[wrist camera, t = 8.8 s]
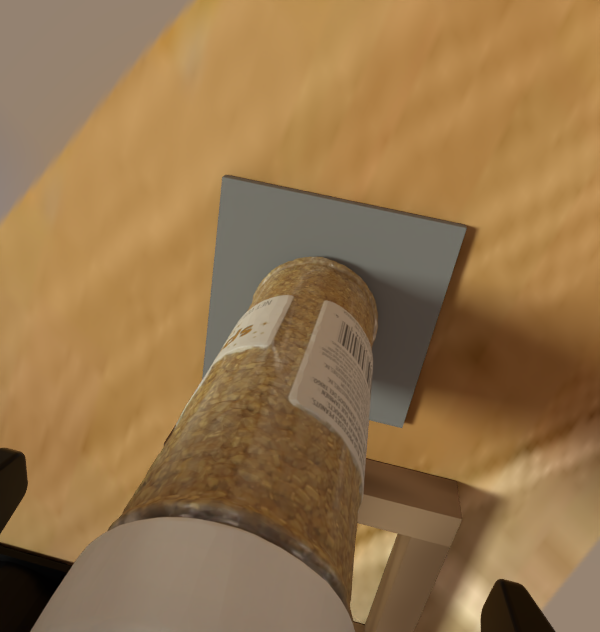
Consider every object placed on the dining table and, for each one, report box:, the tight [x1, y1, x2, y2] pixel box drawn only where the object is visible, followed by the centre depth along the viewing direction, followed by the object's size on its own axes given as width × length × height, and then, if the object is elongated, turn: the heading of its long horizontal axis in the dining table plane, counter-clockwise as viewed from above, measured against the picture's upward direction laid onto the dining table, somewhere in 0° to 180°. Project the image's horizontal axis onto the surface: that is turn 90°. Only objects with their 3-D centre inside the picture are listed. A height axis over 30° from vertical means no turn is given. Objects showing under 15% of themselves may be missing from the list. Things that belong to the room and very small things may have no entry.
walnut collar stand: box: [164, 425, 462, 632], centre depth 23 cm, size 12×12×2 cm
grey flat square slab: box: [202, 175, 467, 428], centre depth 18 cm, size 8×8×1 cm
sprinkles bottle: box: [30, 257, 378, 632], centre depth 12 cm, size 5×5×13 cm
